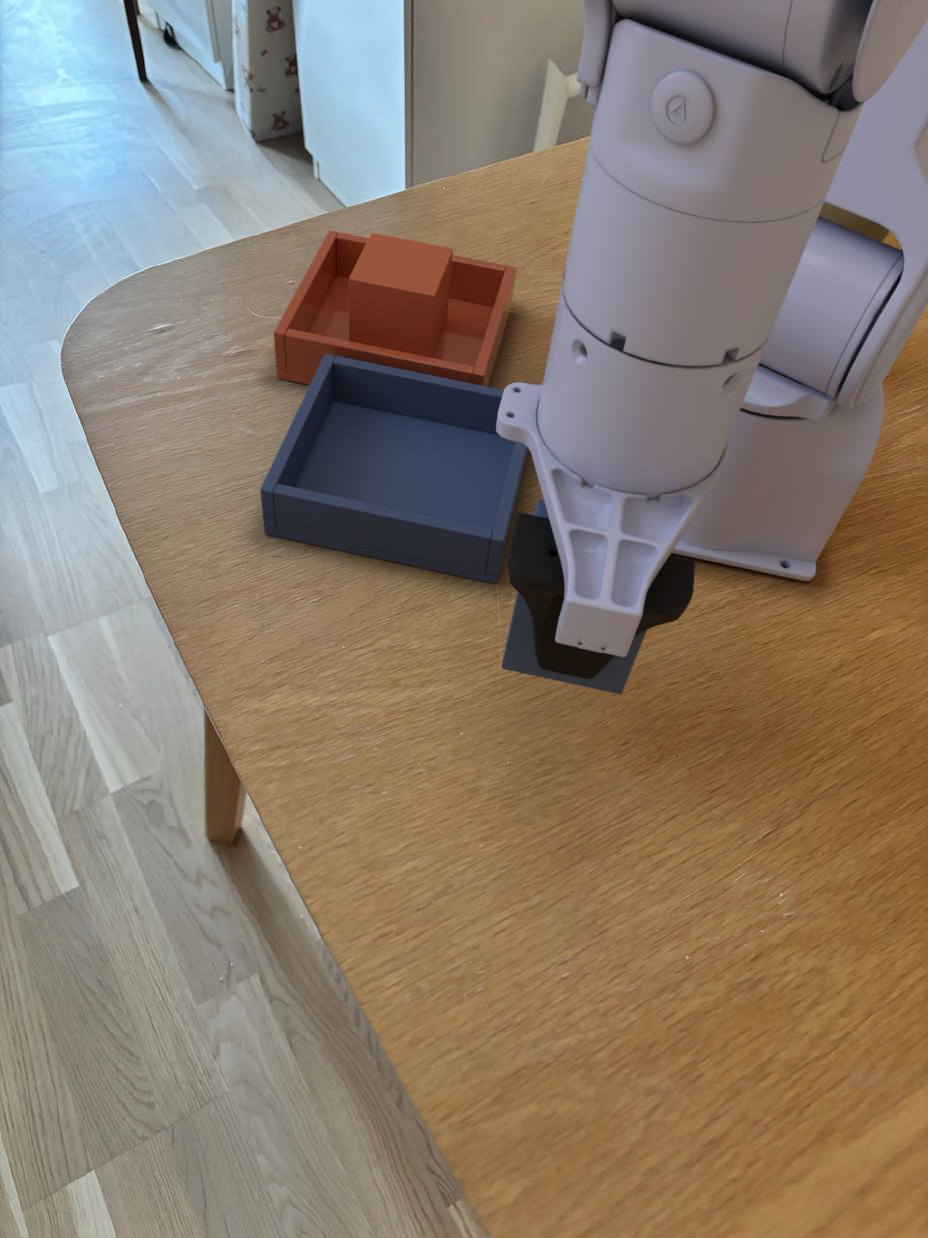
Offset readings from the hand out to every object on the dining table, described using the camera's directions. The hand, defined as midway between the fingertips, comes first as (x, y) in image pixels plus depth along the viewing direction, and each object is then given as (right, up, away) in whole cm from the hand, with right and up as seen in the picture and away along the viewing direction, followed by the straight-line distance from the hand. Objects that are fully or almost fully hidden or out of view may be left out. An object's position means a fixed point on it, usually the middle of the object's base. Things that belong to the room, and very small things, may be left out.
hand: (575, 611), depth 37 cm
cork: (+15, +15, +22) cm, 30 cm away
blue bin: (-7, +6, +12) cm, 15 cm away
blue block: (0, -1, +1) cm, 1 cm away
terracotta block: (-8, +16, +19) cm, 26 cm away
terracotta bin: (-8, +15, +19) cm, 26 cm away
